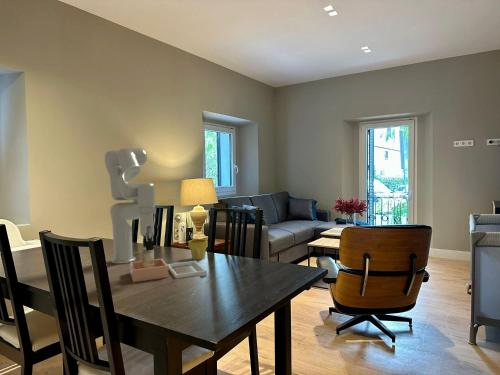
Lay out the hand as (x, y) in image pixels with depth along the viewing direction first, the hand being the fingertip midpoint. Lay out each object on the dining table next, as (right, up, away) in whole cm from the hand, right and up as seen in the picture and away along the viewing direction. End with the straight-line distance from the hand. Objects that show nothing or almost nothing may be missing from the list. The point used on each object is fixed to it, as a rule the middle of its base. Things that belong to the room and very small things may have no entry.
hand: (148, 248), depth 157 cm
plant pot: (+18, -12, +34) cm, 40 cm away
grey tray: (+16, -13, +7) cm, 22 cm away
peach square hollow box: (0, -13, +1) cm, 13 cm away
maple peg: (0, -12, +1) cm, 12 cm away
